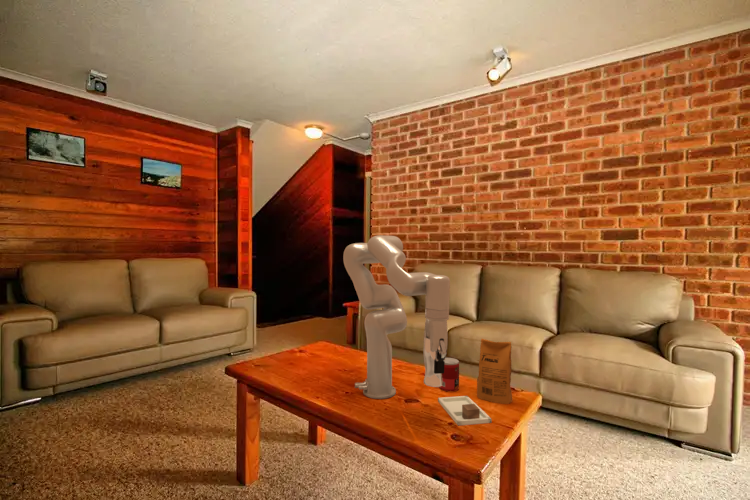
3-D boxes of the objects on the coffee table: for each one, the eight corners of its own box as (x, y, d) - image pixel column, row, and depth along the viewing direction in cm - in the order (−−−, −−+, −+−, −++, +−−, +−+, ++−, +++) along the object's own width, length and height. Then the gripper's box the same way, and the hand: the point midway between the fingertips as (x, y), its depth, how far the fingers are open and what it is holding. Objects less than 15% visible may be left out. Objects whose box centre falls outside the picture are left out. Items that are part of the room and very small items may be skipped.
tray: (458, 429, 111) (458, 421, 111) (437, 404, 129) (437, 397, 129) (491, 426, 113) (491, 418, 113) (467, 402, 130) (467, 395, 130)
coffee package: (480, 392, 140) (480, 335, 140) (514, 399, 133) (514, 339, 133) (473, 401, 131) (473, 340, 131) (509, 409, 125) (509, 345, 125)
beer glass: (420, 378, 120) (422, 334, 119) (440, 379, 121) (442, 334, 120) (424, 387, 113) (426, 340, 112) (446, 387, 114) (448, 340, 113)
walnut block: (467, 423, 112) (467, 410, 112) (462, 417, 116) (462, 404, 116) (479, 421, 113) (479, 409, 113) (473, 416, 117) (473, 403, 117)
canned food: (459, 392, 139) (459, 364, 139) (438, 390, 141) (438, 362, 141) (458, 385, 147) (458, 358, 147) (438, 383, 149) (438, 356, 149)
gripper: (417, 308, 124) (416, 360, 125) (434, 320, 107) (432, 380, 107) (438, 308, 125) (437, 359, 126) (458, 319, 108) (456, 379, 109)
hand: (435, 368), depth 117 cm, fingers closed on beer glass, 6 cm apart
